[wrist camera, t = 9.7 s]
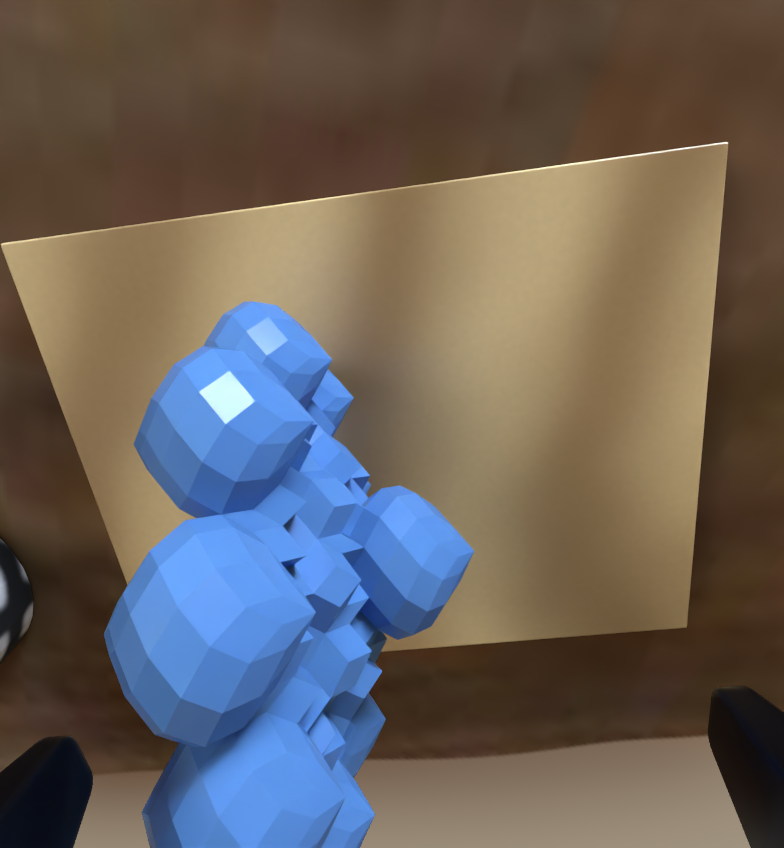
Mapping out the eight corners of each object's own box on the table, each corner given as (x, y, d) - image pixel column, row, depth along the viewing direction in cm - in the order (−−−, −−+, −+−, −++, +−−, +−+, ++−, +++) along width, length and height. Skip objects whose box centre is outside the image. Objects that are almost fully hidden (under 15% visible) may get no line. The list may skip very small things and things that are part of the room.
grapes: (471, 590, 20) (550, 1080, 9) (286, 609, 21) (147, 1094, 10) (432, 254, 16) (490, 404, 5) (199, 290, 16) (-243, 498, 5)
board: (701, 145, 16) (729, 141, 15) (669, 600, 22) (687, 628, 20) (31, 239, 17) (-2, 243, 16) (173, 641, 23) (158, 670, 22)
